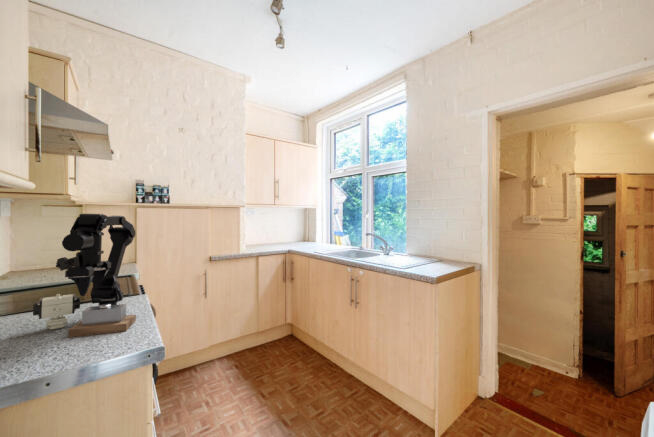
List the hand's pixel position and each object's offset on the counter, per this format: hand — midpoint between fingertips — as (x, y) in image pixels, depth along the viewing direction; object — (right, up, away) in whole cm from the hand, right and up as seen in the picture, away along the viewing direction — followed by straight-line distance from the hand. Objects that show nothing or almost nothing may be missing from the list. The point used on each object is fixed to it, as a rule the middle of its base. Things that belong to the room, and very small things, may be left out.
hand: (89, 292), depth 94 cm
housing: (+5, -11, +1) cm, 12 cm away
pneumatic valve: (-12, -13, +1) cm, 18 cm away
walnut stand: (+5, -13, +1) cm, 14 cm away
